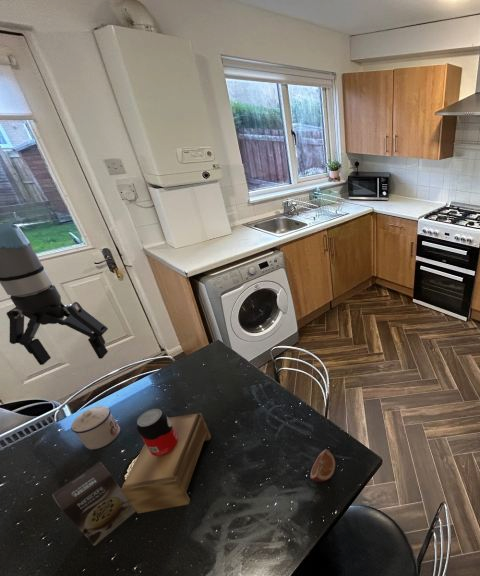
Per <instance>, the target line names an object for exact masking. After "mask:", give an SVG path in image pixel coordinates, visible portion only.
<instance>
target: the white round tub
mask: <svg viewBox="0 0 480 576" xmlns="http://www.w3.org/2000/svg"><path fill="white" fill-rule="evenodd" d="M70 430H71V431H72V432H73V433H74V434H75V435H76V436H77V437H78V439H79V440H80V441H81V443H82V444H83V445H84V446H85V448H87V449H88V450H97V449H101V448H103V447H106V446H107V445H109V444H111V443H112V442H113V441H115V439H116V438H118V436H119V434H120V432H121V427H120V426H119V424H118V421H116V419H115V417H114V416H113V415H112V411H111V409H110V407H107V406H103V405H101V406H94V407H91V408H89V409H87V410H85V411H83V412H82V413H80V414H78V415H77V416H76V417H75V418H74V419H73V421H72V423H71V429H70Z"/></svg>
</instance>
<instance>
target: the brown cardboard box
mask: <svg viewBox="0 0 480 576" xmlns="http://www.w3.org/2000/svg"><path fill="white" fill-rule="evenodd" d="M121 488H122V487H120V485H119V484H118V483H117V481H116V480H115V478H114V477H113V475H112V474H111V472H110V471H109V470H108V469H107V467H106V466H105V465H104V464H103V463H102V462H101V461H99V462H97V463H96V464H94V465H93V466H92V467H90V468H88V469H86V470H85V471H84V472H83V473H81V474H79V475H78V476H77V477H75V478H74V479H72V480H71V481H69V482H68V483H66V484H64V485H63V486H62V487H61V488H59V489H58V490H56V491H54V492H53V493H52V498H53V499H54V501H55V503H56V504H57V505H58V507H59V508H60V510H61V511H62V512H63V513H64V514H65V515H66V517H67V518H68V519H69V520H70V521H71V522H72V523H73V524H74V525H75V527H77V528H78V530H79V531H80V532H81V533H82V534H83V535H84V536H85V537H86V539H87V540H89V542H90V543H91V544H92V545H93V546H97V545H98V544H99V543H100V542H101V541H102V540H103V539H105V538H106V537H107V536H108V535H109V534H111V533H112V532H113V531H114V530H116V529H117V528H118V527H119V526H121V525H122V524H123V523H124V522H125V521H127V520H128V519H129V518H130V517H132V516H133V515H134V514H135V513H137V512H136V510H135V509H134V507H133V506H132V505H131V503H130V502H129V501H128V499H127V498H126V497H125V495H124V494H123V493H122V491H121Z"/></svg>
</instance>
